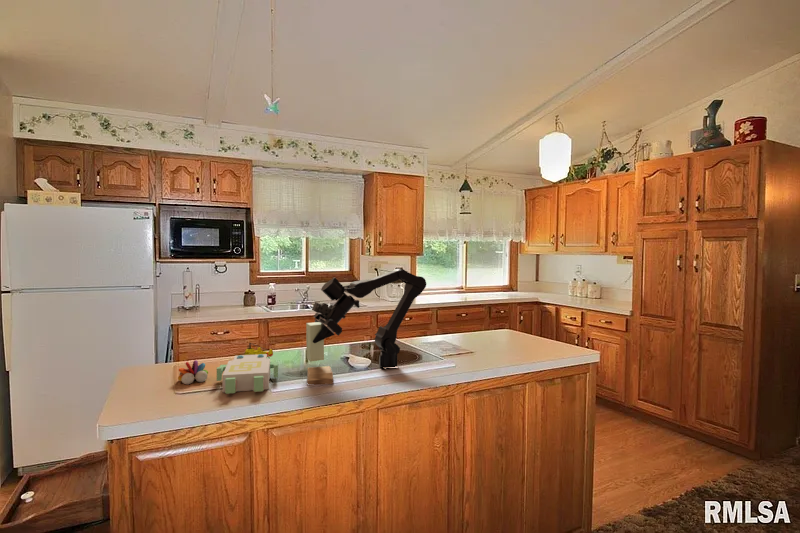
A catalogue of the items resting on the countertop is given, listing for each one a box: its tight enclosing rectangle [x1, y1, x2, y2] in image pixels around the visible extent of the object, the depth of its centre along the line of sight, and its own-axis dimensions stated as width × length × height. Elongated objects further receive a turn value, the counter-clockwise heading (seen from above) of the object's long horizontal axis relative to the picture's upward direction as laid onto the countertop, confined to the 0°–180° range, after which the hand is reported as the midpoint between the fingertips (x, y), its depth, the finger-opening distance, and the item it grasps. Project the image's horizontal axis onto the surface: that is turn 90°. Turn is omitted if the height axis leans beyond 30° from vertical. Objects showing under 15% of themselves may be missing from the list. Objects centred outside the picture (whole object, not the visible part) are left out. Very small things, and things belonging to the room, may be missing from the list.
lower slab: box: [306, 371, 335, 386], centre depth 155 cm, size 9×9×2 cm
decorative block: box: [216, 354, 279, 395], centre depth 151 cm, size 26×6×20 cm
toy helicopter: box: [243, 342, 274, 359], centre depth 169 cm, size 6×18×10 cm, turn 155°
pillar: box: [305, 321, 325, 362], centre depth 158 cm, size 5×5×13 cm
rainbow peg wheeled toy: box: [177, 359, 209, 385], centre depth 153 cm, size 8×10×7 cm
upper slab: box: [307, 365, 333, 381], centre depth 154 cm, size 8×8×2 cm
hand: (311, 340), depth 157 cm, fingers closed on pillar, 5 cm apart
